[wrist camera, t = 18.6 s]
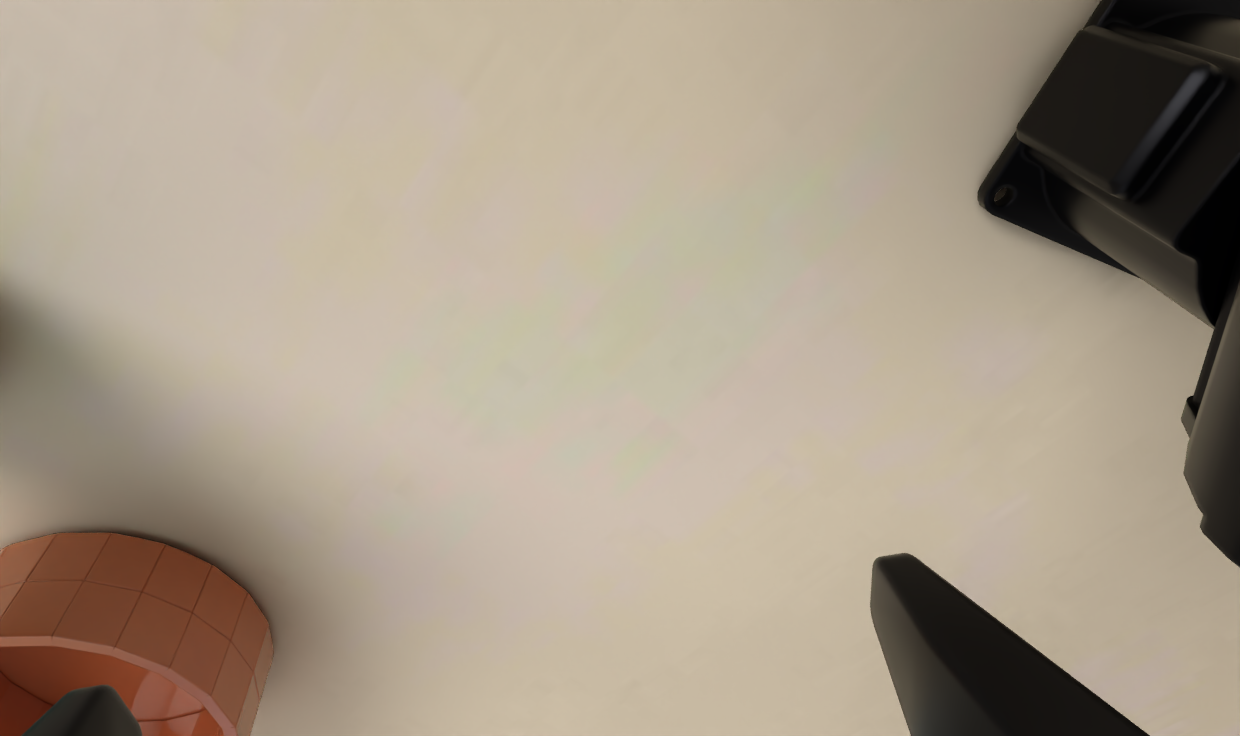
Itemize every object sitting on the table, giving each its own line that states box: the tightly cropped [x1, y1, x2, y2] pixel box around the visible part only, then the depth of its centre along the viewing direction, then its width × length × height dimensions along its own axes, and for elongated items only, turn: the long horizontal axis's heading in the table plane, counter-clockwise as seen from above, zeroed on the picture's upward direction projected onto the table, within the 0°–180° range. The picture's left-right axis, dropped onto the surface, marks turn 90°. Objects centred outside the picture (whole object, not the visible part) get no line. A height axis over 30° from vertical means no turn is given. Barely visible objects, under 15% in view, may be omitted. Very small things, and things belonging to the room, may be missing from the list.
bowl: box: [0, 532, 274, 736], centre depth 25 cm, size 9×9×4 cm
